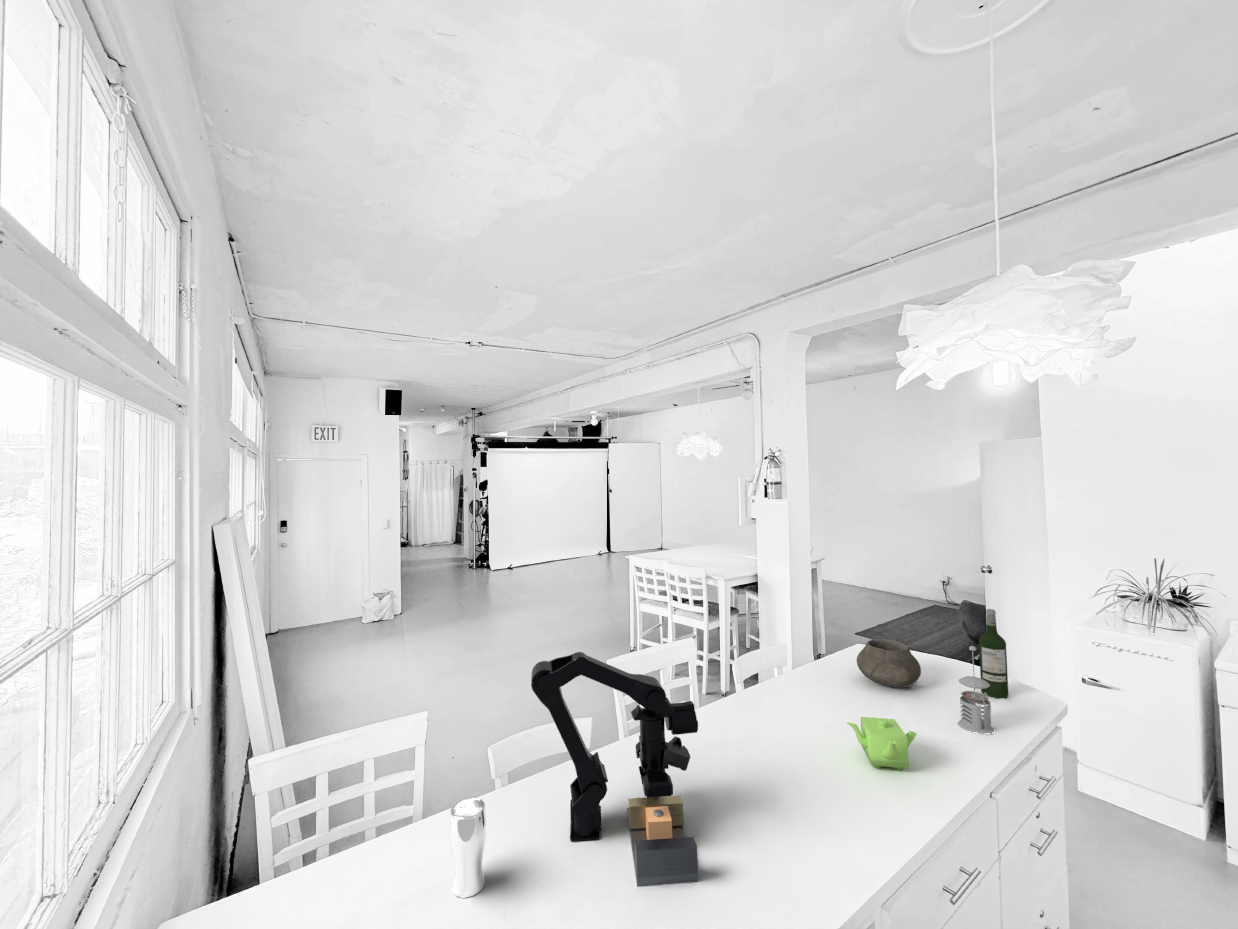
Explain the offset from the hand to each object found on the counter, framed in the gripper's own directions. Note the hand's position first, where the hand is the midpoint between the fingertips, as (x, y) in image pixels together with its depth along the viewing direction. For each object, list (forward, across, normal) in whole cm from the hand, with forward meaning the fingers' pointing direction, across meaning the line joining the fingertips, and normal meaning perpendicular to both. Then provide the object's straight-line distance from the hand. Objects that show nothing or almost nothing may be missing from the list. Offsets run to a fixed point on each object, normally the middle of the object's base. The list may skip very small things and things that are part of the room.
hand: (653, 804), depth 119 cm
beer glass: (+4, -15, +39) cm, 42 cm away
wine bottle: (+5, +56, -131) cm, 143 cm away
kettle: (+4, +18, -66) cm, 69 cm away
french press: (+4, +33, -106) cm, 111 cm away
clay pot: (+5, +70, -100) cm, 122 cm away
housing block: (+2, -8, 0) cm, 8 cm away
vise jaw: (+2, -3, 0) cm, 4 cm away
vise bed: (+4, -8, 0) cm, 9 cm away
